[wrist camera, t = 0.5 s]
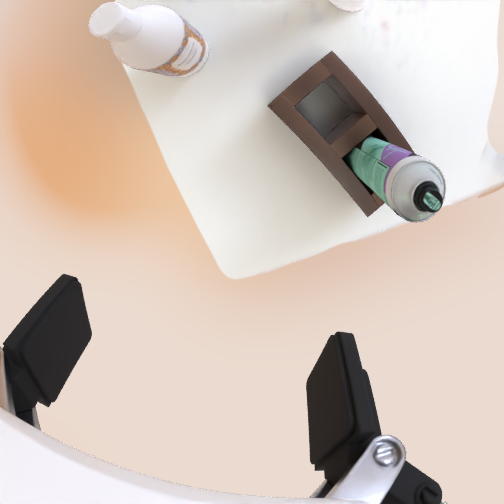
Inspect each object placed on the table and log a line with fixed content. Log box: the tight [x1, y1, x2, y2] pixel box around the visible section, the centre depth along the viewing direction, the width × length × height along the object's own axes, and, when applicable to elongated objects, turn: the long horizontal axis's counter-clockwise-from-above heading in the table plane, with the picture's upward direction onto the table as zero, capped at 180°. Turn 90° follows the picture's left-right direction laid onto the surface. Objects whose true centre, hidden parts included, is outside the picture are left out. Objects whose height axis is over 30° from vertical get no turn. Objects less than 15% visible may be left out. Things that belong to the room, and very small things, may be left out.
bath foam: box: [89, 2, 209, 77], centre depth 21 cm, size 7×7×20 cm
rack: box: [268, 51, 415, 217], centre depth 31 cm, size 10×18×6 cm, turn 45°
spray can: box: [342, 135, 446, 222], centre depth 26 cm, size 6×6×20 cm
